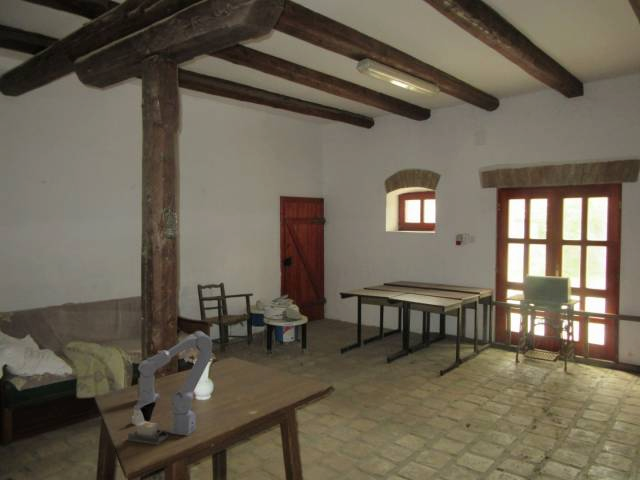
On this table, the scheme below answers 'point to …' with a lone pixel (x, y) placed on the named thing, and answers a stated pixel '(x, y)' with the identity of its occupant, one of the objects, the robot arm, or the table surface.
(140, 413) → the white wedge bracket
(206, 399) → the table surface
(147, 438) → the rail mount
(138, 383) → the travel mug
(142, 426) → the module
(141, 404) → the robot arm
